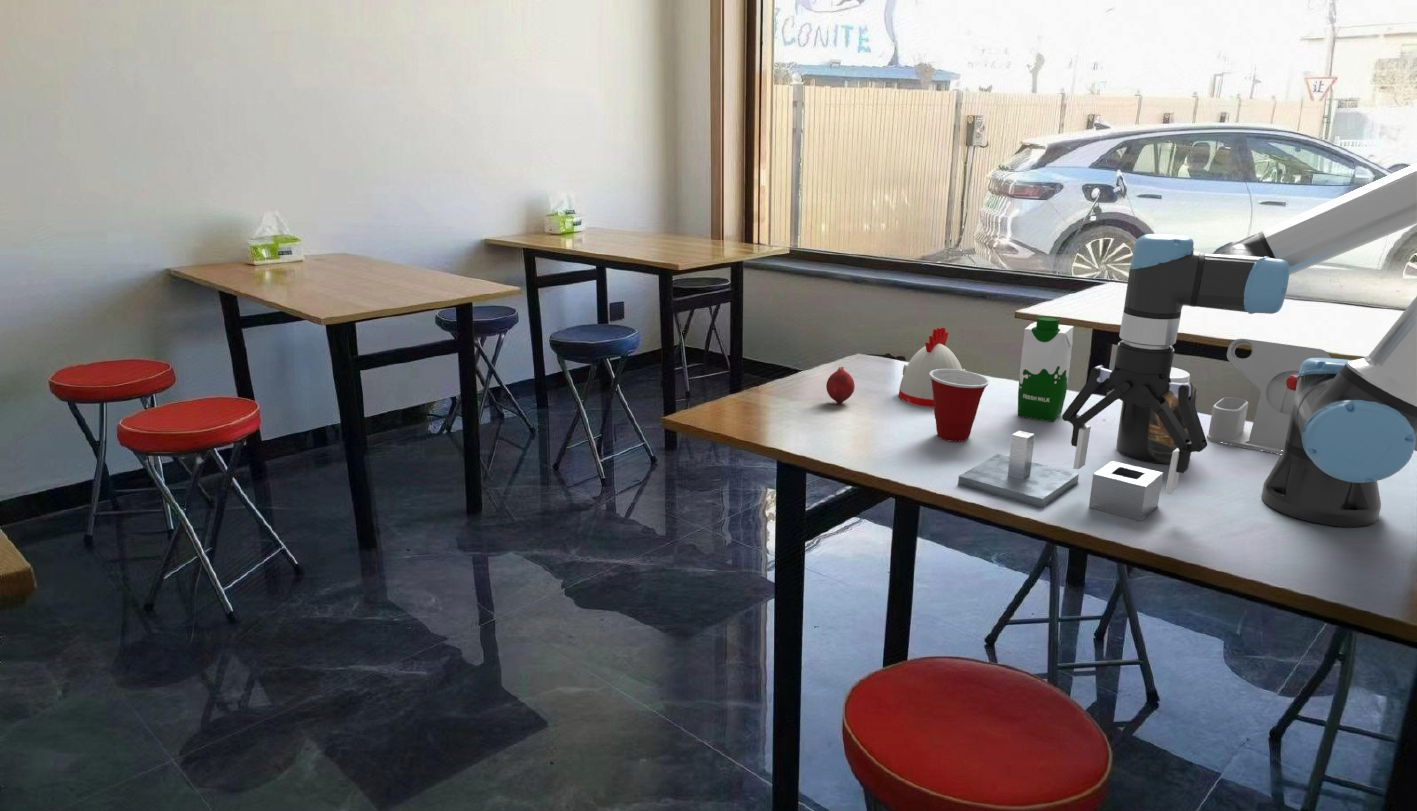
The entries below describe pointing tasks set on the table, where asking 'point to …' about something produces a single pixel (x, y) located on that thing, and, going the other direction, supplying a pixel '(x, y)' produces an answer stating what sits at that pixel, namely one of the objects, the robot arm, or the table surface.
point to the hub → (1125, 490)
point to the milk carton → (1044, 369)
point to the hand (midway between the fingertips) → (1123, 478)
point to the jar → (1151, 427)
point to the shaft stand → (1019, 475)
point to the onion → (840, 385)
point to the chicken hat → (926, 369)
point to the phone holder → (1261, 396)
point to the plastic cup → (956, 401)
